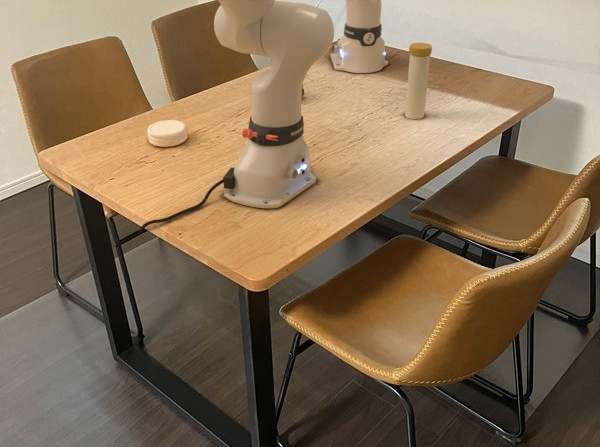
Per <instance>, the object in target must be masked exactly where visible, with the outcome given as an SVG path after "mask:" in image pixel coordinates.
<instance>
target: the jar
mask: <svg viewBox="0 0 600 447" xmlns="http://www.w3.org/2000/svg"><path fill="white" fill-rule="evenodd" d="M430 61H431V54H430V55H428V56H415V55H411V54H410V53H409V60H408V74H407V87H406V97H405V98H406V99H405V111H404V116H405V117H406V118H408V119H411V120H421V119H423V118H425V111H426V103H427V102H426V101H427V92H428V82H429V80H428V79H429V72H430Z"/></svg>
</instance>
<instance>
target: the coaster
mask: <svg viewBox="0 0 600 447" xmlns="http://www.w3.org/2000/svg"><path fill="white" fill-rule="evenodd" d="M146 132H147V138H148V142H149V143H150V144H151V145H153V146H156V147H160V148H162V147H163V148H168V147H169V148H170V147H175V146H179V145H182V144H183V143H184V142H185V141H186V140H187V139H188V130H187V125H186V124H185V123H184V122H183V121H180V120H176V119H165V120H160V121H156V122H153V123H151V124H150V125H149V126H148V127H147V130H146Z"/></svg>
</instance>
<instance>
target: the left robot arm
mask: <svg viewBox="0 0 600 447" xmlns="http://www.w3.org/2000/svg"><path fill="white" fill-rule="evenodd" d="M217 1H218V3H219V4H220V5H219V6H218V8H217V10H216V11H215V14H214V18H213V30H214V34H215V36H216V39H217V40H218V43H219V44H220V45H221V46H223V47H225V48H227V49H230V50H232V51H235V52H238V53H241V54H245V55H253V56H259V57H260V56H261V57H269V58H270V60H271V66H270V69H269V70H266V71H263V72H261V73H260V74H258V75H257V76H256V77H255V78H254V79H253V80H252V82H251V84H250V86H249V101H250V102H249V103H250V117H249V123H248V126H247V128H245V127H244V128H243V129H242V131H241V137H242V138H244V139H247V140H246V142H245V144H244V146H243V148H242V151H241V153H240V154H239V157H238V159H237V161H236V163H235V166H234V167H230V168H229V170H227V172H226V173H225V174H224V175H223V177H222V179H221V180H218V181H217V182H216V183H215V184H213V185H212V186H211V187H210V188H209V189H208V190H207V192H206V194H205V196H204V197H203V198H202V200H201V201H200V202H199V203H197V204H196V205H194V206H192V207H188V208H185V209H183V210H181V211H178V212H176V213H174V214H171V215H169V216H166V217H163V218H159V219H151V220H149V221H146V222H145V223H143V224H142V225H141V226H140V228H139V229H138V233H142V232H143V231H144V230H145V229H146V228H147V227H148V226H150V225H152V224H153V225H154V224H160V223H165V222H168V221H170V220H173V219H175V218H177V217H180V216H182V215H184V214H186V213H189V212H191V211H194V210H197V209H199V208H201V207H202V206H203V205H204V204H205V203H207V200H208V199H209V197H210V195H211V193H212V192H213V191H215V189H217V188H218V187H219V186H220V185H222V184H223V189H224V190H223V196H224V198H225V199H228V200H229V201H231V202H233V203H237V204H239V205H244V206H248V207H252V208H258V209H278V208H280V207H283V205H285V204H286V203H288V202H289V201H292V199H294V198H295V197H296V196H298V195H299V194H301V193H303V192H304V191H305V190H307V189H308V188H309V187H311V186H313V185H314V184H316V182H317V176H316V175H315V174H314V173H312V167H311V154H310V147H309V145H308V144H307V142H306V140H305V138H304V133H305V132H304V131H305V130H304V127H305V121H304V116H303V115H302V98H303V97H302V86H303V87H304V82H305V79H306V76H307V74H308V73H309V70H310V69H311V68H312V66H313V65H315V63H317V62H318V61H319V60H321V59H322V58H323V57H324V56H326V55H327V54H328V52H329V51H330V50H331V47H332V46H333V42H334V38H335V26H334V22H333V20H332V17H331V15H330V14H329V12H328V11H327V10H326V9H323V8H321V7H317V6H315V5H311V4H308V3H304V2H293V1H284V0H217Z"/></svg>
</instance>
